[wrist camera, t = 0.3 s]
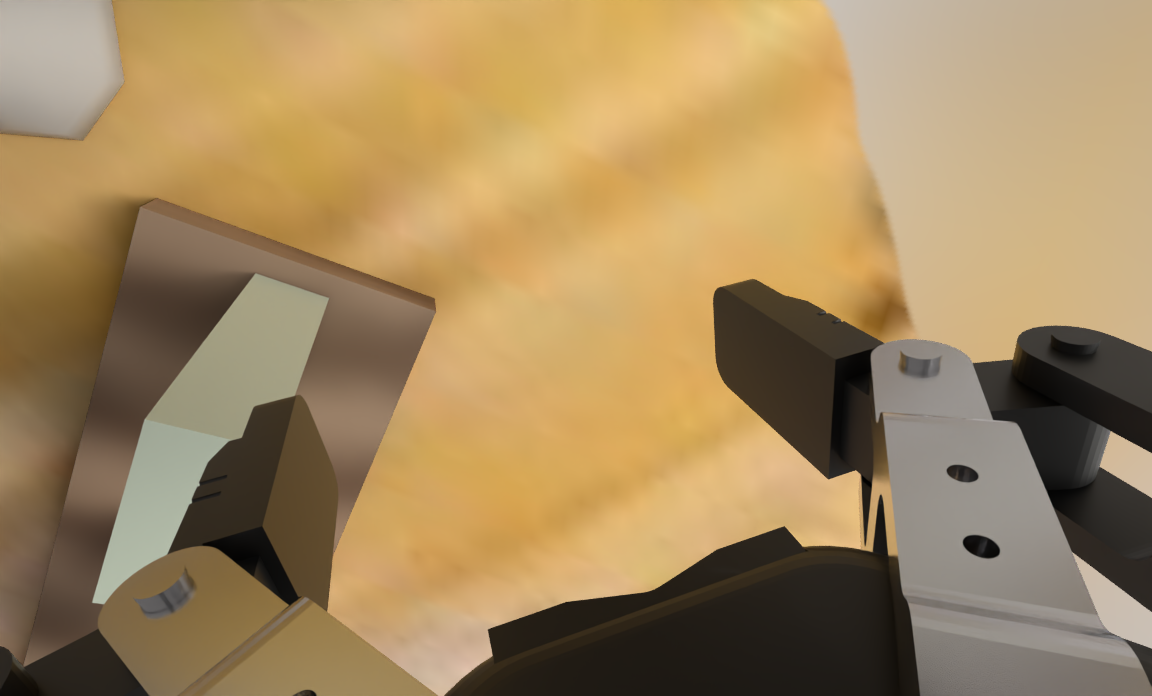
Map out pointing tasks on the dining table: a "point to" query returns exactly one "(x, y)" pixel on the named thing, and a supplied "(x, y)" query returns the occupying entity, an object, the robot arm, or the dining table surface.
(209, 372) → the sage tab
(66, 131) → the flask
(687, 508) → the dining table surface
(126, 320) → the brown wooden flat board
